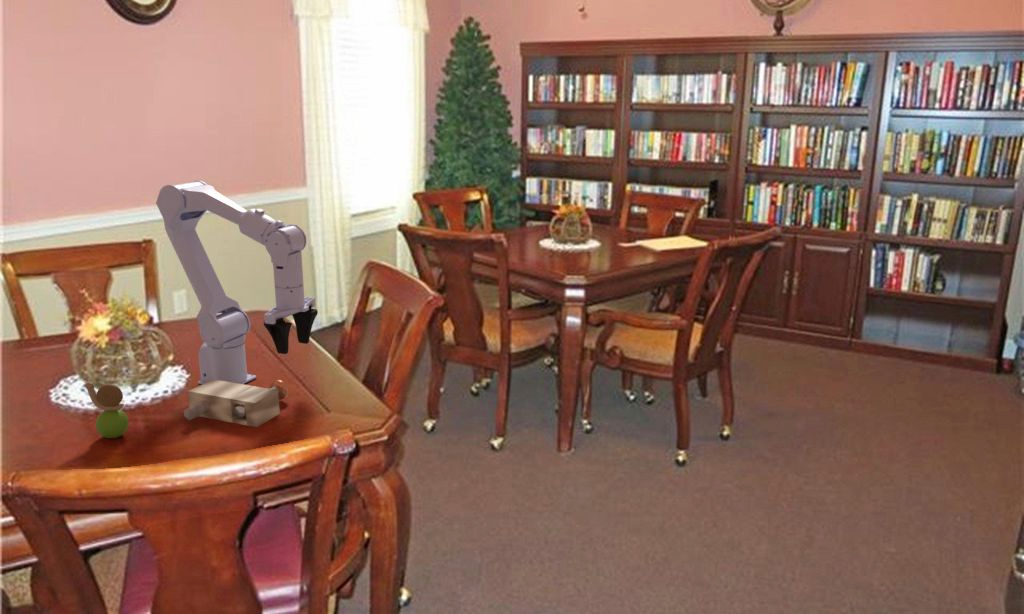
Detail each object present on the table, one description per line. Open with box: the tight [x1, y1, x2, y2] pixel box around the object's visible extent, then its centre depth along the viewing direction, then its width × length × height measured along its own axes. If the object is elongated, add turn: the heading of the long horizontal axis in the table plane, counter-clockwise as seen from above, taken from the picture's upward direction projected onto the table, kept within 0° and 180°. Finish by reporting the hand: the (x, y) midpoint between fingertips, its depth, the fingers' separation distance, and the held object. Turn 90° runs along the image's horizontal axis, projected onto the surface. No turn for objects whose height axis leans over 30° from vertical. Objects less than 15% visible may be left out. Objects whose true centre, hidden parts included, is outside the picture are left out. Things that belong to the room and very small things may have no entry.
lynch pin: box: [234, 379, 290, 417], centre depth 155 cm, size 4×13×4 cm, turn 159°
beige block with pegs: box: [183, 379, 281, 428], centre depth 152 cm, size 16×12×5 cm
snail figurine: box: [83, 375, 130, 439], centre depth 142 cm, size 5×6×12 cm
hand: (293, 347), depth 163 cm, fingers open, 7 cm apart
